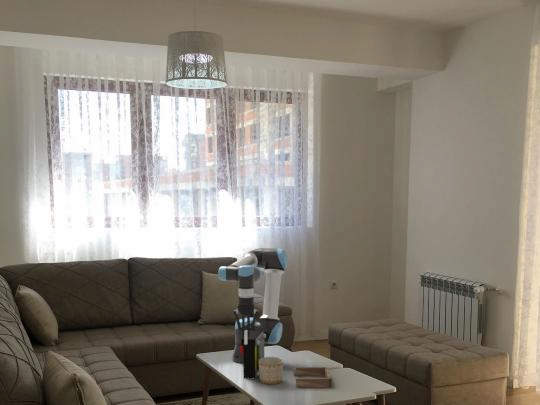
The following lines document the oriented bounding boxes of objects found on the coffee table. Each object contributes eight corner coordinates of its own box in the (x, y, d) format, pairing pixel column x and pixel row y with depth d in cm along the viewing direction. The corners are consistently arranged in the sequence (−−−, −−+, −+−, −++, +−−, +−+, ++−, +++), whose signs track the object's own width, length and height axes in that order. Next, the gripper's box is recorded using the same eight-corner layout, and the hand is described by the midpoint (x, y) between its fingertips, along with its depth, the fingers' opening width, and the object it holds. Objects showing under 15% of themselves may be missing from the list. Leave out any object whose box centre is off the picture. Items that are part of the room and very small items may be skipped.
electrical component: (259, 379, 276) (259, 339, 276) (239, 377, 278) (239, 338, 278) (266, 368, 293) (266, 331, 293) (248, 367, 295) (248, 330, 295)
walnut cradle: (293, 375, 282) (293, 367, 282) (326, 374, 283) (326, 367, 283) (295, 387, 264) (295, 379, 264) (331, 387, 264) (331, 378, 264)
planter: (258, 377, 279) (258, 356, 279) (282, 376, 280) (282, 356, 279) (258, 385, 266) (258, 364, 266) (284, 385, 267) (284, 364, 267)
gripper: (232, 297, 268) (232, 345, 268) (259, 297, 268) (258, 345, 268) (233, 295, 275) (233, 341, 275) (259, 295, 275) (258, 341, 275)
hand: (245, 343), depth 271 cm, fingers closed
